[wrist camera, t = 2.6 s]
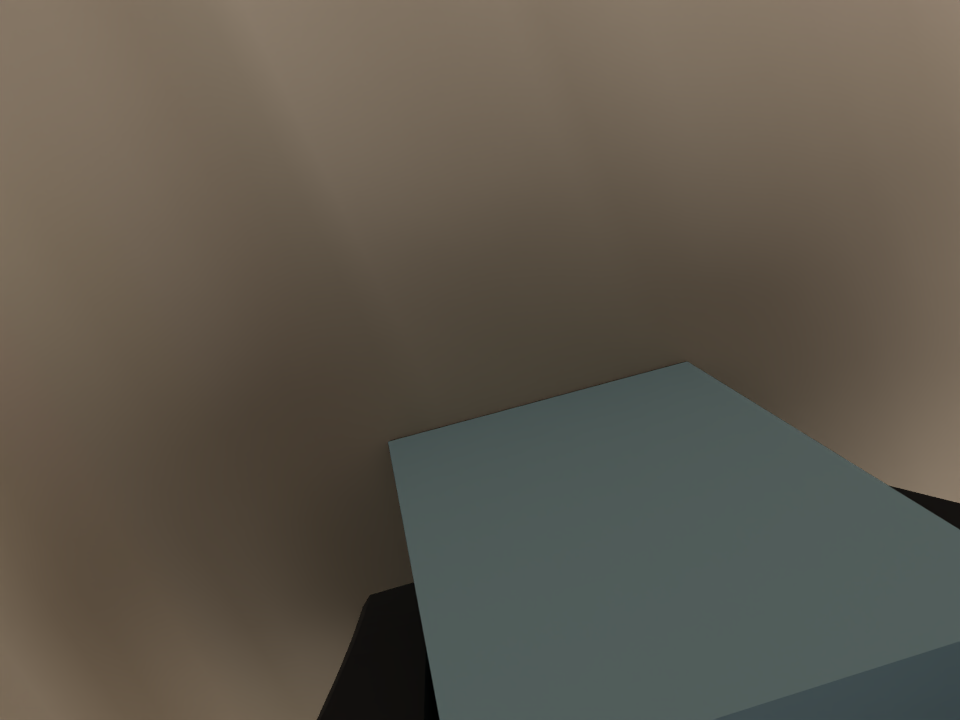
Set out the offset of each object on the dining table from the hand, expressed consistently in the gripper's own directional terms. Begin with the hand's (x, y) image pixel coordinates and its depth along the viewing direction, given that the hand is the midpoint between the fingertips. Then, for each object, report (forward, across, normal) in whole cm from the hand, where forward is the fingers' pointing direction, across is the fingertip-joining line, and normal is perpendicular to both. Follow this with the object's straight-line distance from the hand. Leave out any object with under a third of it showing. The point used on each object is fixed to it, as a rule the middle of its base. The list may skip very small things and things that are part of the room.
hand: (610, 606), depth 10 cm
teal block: (+2, 0, 0) cm, 2 cm away
